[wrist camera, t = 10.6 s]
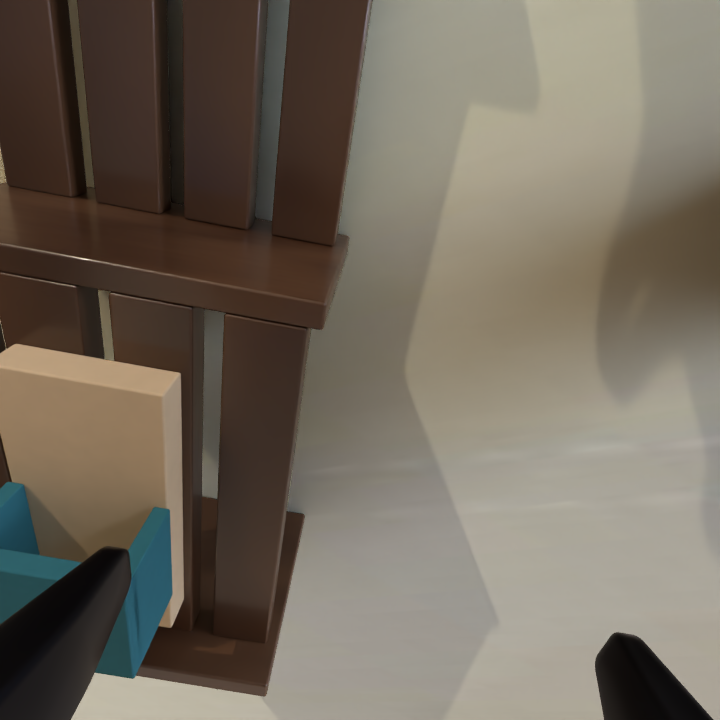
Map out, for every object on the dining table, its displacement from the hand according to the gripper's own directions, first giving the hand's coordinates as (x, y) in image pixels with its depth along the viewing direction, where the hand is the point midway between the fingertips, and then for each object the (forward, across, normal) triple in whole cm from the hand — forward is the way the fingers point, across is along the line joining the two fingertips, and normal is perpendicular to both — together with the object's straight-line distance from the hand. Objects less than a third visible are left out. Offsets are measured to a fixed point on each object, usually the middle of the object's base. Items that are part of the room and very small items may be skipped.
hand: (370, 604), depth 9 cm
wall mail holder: (+6, +8, +4) cm, 11 cm away
